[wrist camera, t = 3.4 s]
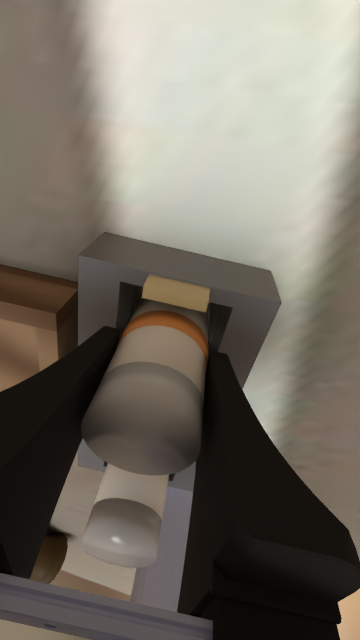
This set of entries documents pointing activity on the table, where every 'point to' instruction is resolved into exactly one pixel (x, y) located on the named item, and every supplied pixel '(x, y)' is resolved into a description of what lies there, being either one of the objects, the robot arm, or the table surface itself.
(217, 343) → the fuse holder
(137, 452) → the marked fuse
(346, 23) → the table surface
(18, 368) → the tray
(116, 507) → the plain fuse
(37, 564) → the kendama
